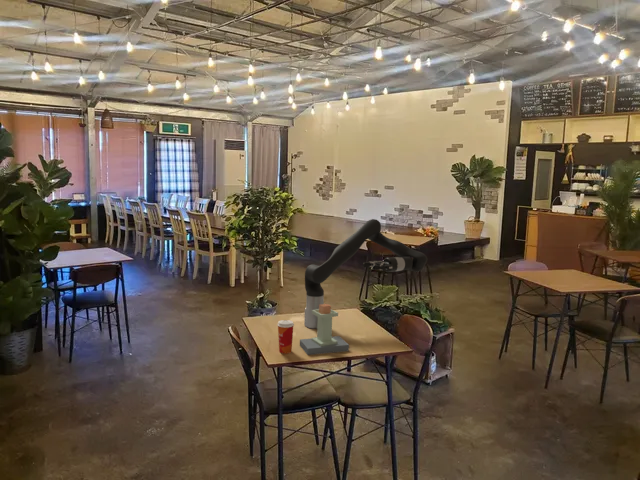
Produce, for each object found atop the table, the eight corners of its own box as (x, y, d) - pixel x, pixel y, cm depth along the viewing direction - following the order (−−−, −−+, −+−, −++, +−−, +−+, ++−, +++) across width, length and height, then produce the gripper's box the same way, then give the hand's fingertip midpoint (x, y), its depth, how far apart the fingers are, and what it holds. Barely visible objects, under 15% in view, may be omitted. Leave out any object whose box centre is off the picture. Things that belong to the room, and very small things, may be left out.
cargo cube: (318, 312, 236) (319, 304, 236) (326, 311, 238) (326, 303, 238) (323, 315, 233) (323, 306, 232) (330, 314, 235) (330, 305, 234)
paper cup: (276, 348, 236) (277, 319, 234) (293, 348, 236) (293, 319, 235) (276, 354, 228) (277, 324, 226) (293, 354, 229) (294, 324, 227)
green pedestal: (311, 340, 239) (312, 310, 237) (328, 337, 243) (328, 308, 241) (320, 346, 231) (321, 315, 229) (337, 343, 236) (338, 312, 234)
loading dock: (307, 355, 228) (307, 348, 228) (299, 345, 241) (299, 339, 240) (348, 350, 235) (348, 344, 234) (339, 341, 247) (339, 335, 247)
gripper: (386, 255, 270) (360, 257, 262) (402, 259, 258) (376, 261, 250) (385, 268, 271) (360, 271, 263) (402, 273, 259) (375, 276, 251)
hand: (368, 266), depth 257 cm, fingers open, 8 cm apart
